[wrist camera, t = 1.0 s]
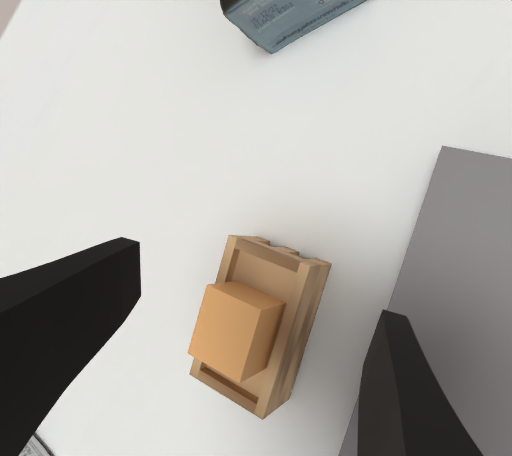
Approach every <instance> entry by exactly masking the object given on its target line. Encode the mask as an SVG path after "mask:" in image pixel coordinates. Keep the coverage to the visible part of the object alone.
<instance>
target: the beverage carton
mask: <svg viewBox="0 0 512 456" xmlns="http://www.w3.org/2000/svg"><path fill="white" fill-rule="evenodd" d="M363 1H365V0H220V5H221V8H222V11H223V14H224V15H225V17H226V18H227V19H228V20H229V21H231V22H232V23H233V24H234V25H236V26H237V27H238V28H239V29H240V30H241V31H242V32H243V33H244V34H245V35H246V36H247V37H248V38H249V39H251V40H252V41H253V42H254V43H255V44H256V45H257V46H260V47H262V48H264V49H265V50H266V51H268V52H269V53H271V54H273V53H275V52H277V51H279V50H280V49H282V48H283V47H285V46H286V45H288V44H290V43H291V42H293V41H295V40H296V39H298V38H300V37H301V36H303V35H305V34H307V33H308V32H310V31H312V30H314V29H316V28H317V27H319V26H321V25H323V24H324V23H326V22H328V21H330V20H332V19H333V18H335V17H337V16H339V15H340V14H342V13H344V12H345V11H347V10H349V9H351V8H353V7H355V6H357V5H358V4H360V3H362V2H363Z"/></svg>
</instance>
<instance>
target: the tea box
mask: <svg viewBox="0 0 512 456" xmlns="http://www.w3.org/2000/svg"><path fill="white" fill-rule="evenodd" d="M19 456H50V455H49V454H48V453H47V451H46V450H45V449H44V448H43V446H42V445H41V444H40V443H39V441H38V440H37V439H36V438H35V437H34V436H32V437H31V439H30V440H29V441H28V443H27V444H26V446H25V447H24V449H23V450H22V452H21V453H20V455H19Z"/></svg>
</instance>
